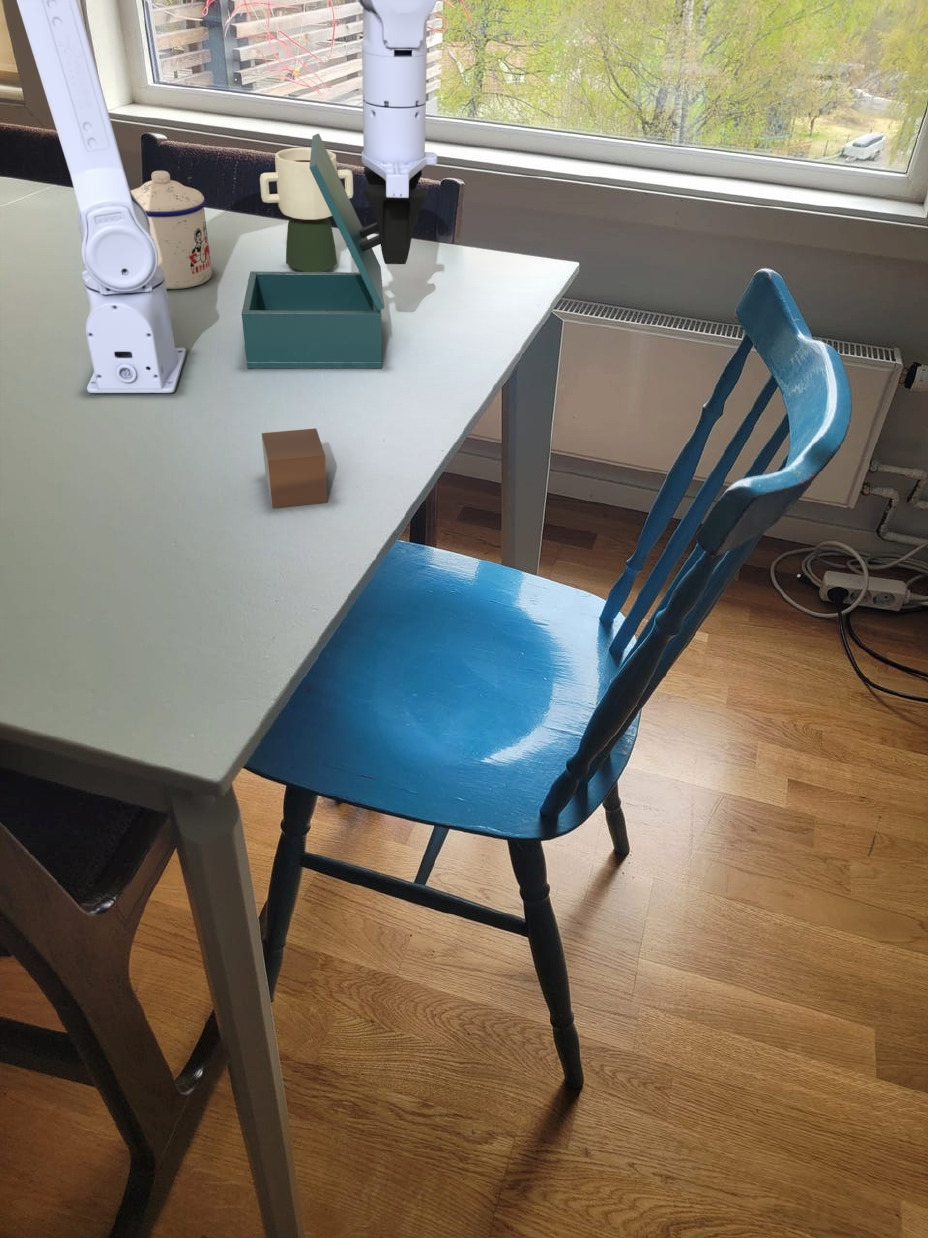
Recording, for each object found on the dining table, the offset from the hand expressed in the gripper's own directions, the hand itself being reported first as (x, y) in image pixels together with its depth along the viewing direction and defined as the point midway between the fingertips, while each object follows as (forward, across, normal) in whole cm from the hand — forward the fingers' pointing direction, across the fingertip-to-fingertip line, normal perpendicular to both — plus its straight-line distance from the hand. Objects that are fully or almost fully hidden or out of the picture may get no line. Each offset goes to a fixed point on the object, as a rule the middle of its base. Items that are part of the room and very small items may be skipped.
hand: (393, 253), depth 96 cm
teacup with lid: (+10, +21, +25) cm, 34 cm away
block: (+10, -29, +9) cm, 32 cm away
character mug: (+10, +23, +9) cm, 27 cm away
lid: (-3, 0, +5) cm, 5 cm away
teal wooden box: (+10, 0, +8) cm, 13 cm away
